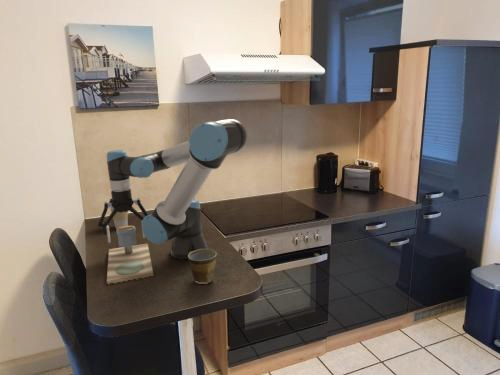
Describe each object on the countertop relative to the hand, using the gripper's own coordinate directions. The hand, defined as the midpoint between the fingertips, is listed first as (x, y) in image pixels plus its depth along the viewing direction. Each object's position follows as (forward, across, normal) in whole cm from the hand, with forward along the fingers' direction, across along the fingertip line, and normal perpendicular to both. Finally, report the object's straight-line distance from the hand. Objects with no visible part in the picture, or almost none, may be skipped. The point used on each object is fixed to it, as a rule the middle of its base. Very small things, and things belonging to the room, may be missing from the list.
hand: (126, 239), depth 158 cm
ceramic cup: (+7, -24, +32) cm, 41 cm away
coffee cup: (+8, +3, -38) cm, 39 cm away
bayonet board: (+7, 0, +8) cm, 11 cm away
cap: (+2, 0, 0) cm, 2 cm away
